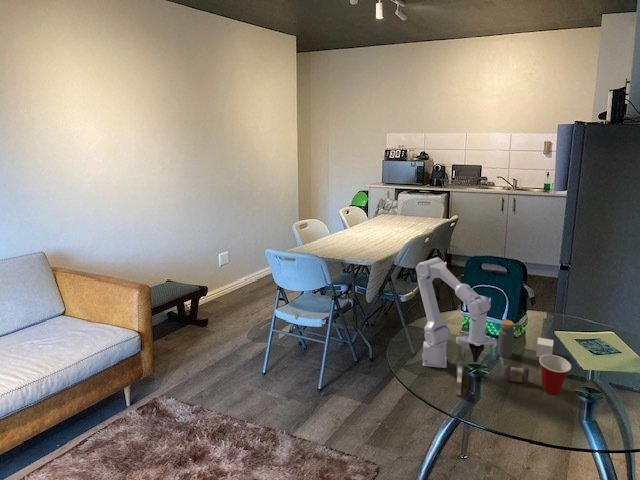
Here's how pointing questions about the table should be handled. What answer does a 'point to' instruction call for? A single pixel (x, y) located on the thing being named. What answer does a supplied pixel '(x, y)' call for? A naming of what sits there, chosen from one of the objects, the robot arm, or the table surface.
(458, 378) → the gate
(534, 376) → the table surface
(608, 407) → the table surface
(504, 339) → the bottle
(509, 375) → the fence
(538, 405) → the table surface
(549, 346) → the white cube
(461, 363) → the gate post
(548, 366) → the plastic cup
